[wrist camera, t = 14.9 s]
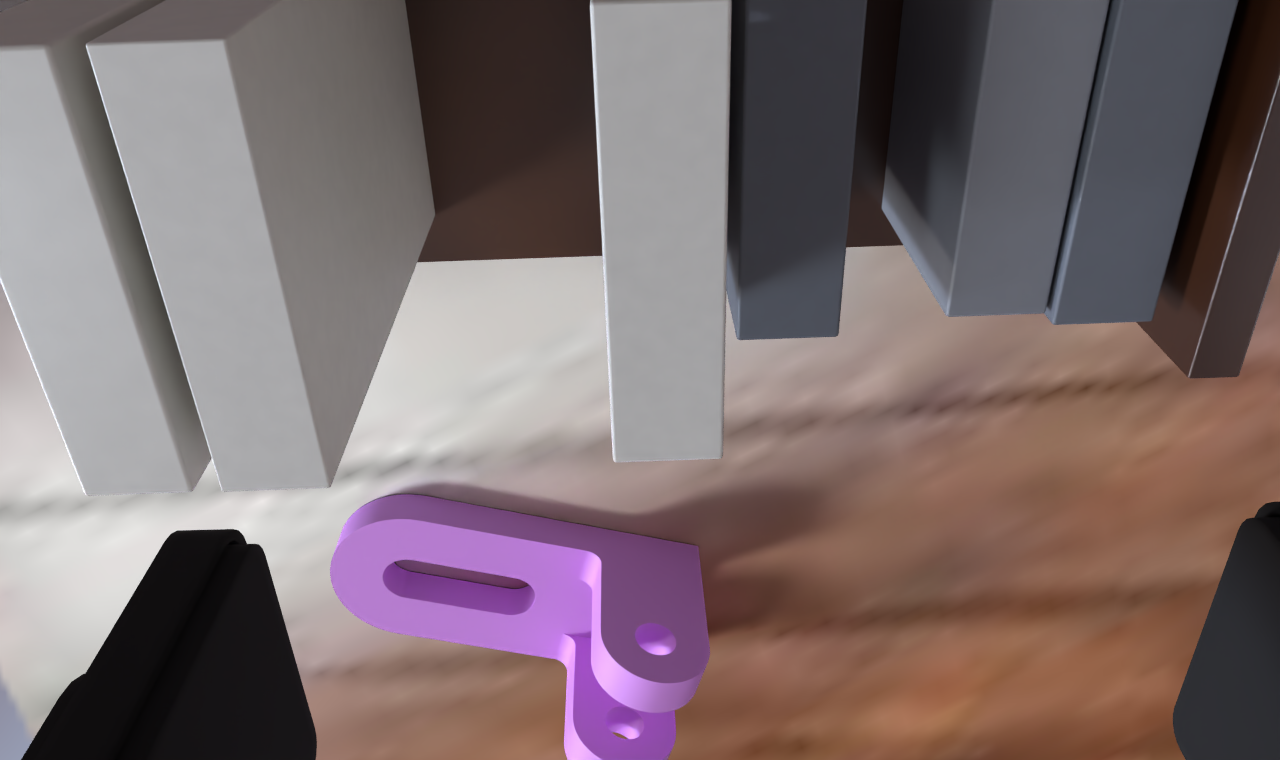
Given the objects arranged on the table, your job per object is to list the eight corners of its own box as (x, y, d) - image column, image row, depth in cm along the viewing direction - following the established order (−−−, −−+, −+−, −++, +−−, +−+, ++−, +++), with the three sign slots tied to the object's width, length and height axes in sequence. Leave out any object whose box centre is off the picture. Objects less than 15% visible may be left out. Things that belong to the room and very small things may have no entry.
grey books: (1111, -130, 25) (1272, -93, 19) (1045, 210, 30) (1156, 326, 24) (714, -117, 25) (747, -76, 19) (710, 221, 30) (736, 341, 24)
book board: (1170, -180, 26) (1415, -153, 18) (1082, 223, 32) (1239, 377, 24) (145, -147, 26) (-61, -105, 18) (245, 253, 31) (123, 417, 23)
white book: (679, -108, 25) (732, -3, 14) (681, 196, 29) (723, 459, 18) (599, -105, 25) (589, 1, 14) (612, 198, 29) (612, 463, 18)
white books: (393, -84, 25) (225, 38, 14) (435, 215, 30) (331, 488, 18) (213, -78, 25) (-94, 49, 14) (281, 220, 30) (83, 497, 18)
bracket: (698, 546, 38) (714, 691, 32) (659, 649, 41) (667, 801, 35) (347, 481, 36) (295, 623, 30) (332, 594, 39) (281, 745, 33)
